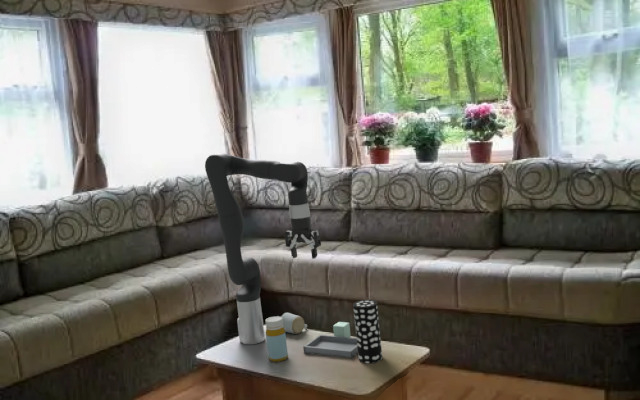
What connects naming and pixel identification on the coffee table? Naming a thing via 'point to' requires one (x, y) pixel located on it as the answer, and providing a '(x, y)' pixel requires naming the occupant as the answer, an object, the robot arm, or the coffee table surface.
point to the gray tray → (332, 346)
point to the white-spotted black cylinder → (367, 331)
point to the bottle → (276, 339)
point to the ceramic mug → (293, 323)
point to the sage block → (341, 329)
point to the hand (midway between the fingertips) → (304, 257)
